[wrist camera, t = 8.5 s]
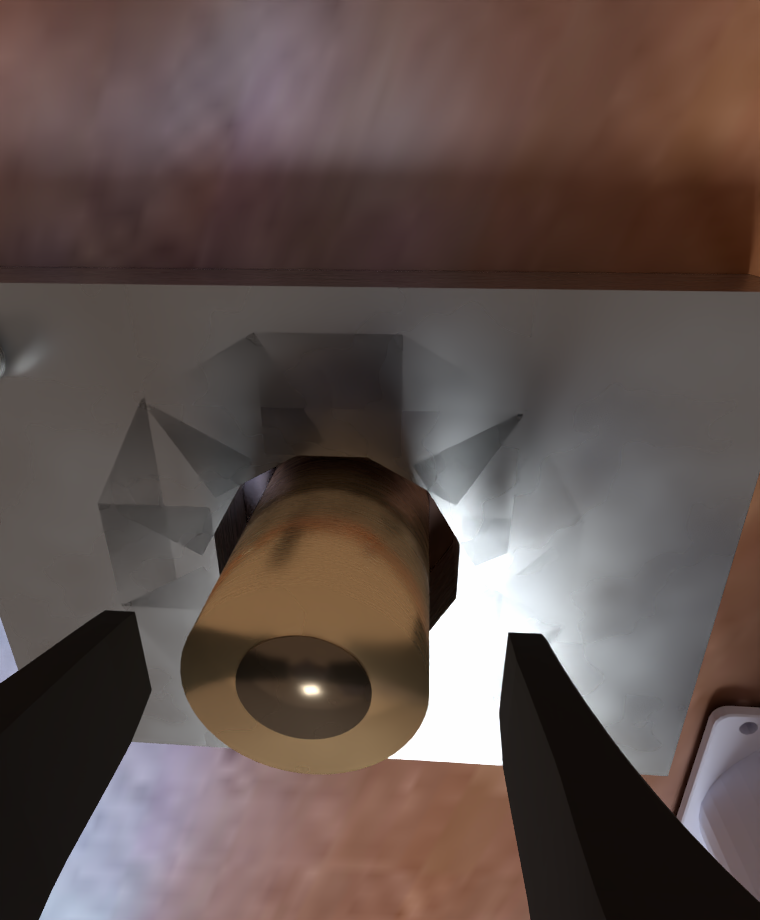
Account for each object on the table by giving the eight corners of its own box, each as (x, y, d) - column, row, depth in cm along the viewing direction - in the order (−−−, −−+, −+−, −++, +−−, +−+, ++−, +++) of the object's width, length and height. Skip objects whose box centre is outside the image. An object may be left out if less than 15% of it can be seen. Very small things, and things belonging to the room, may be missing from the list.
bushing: (439, 442, 15) (447, 607, 9) (418, 580, 17) (412, 790, 11) (270, 422, 15) (172, 572, 9) (268, 561, 17) (184, 760, 11)
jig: (749, 274, 13) (873, 309, 9) (639, 706, 19) (690, 833, 15) (-32, 266, 14) (-188, 295, 11) (83, 675, 20) (6, 785, 16)
